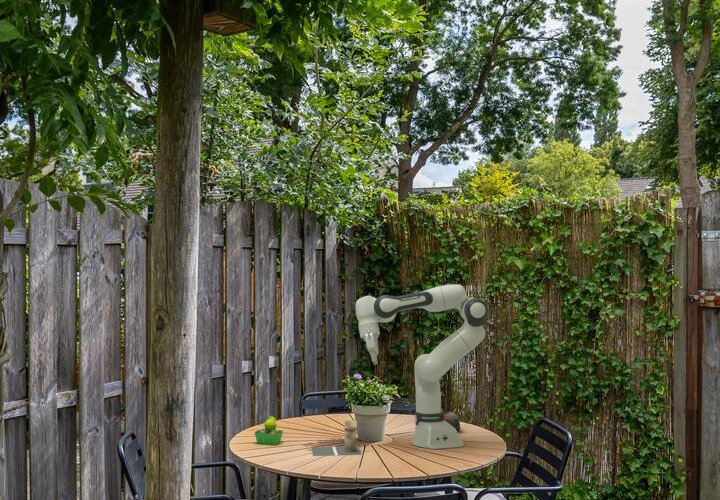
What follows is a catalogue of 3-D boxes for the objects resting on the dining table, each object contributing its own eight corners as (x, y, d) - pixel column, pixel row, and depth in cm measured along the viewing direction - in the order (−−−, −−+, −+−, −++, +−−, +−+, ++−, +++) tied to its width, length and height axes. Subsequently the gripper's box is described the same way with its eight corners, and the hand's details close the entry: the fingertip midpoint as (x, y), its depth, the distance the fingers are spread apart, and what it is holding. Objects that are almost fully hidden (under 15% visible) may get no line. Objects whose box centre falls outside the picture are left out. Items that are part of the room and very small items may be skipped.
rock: (430, 426, 324) (430, 410, 325) (451, 425, 326) (451, 409, 326) (439, 434, 306) (439, 417, 306) (462, 434, 307) (462, 417, 308)
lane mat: (358, 448, 277) (358, 446, 277) (362, 457, 263) (362, 454, 263) (311, 450, 274) (311, 447, 274) (312, 458, 260) (313, 455, 260)
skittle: (356, 449, 272) (356, 420, 273) (357, 452, 267) (357, 422, 268) (343, 449, 271) (343, 420, 272) (344, 452, 266) (345, 422, 267)
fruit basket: (253, 444, 284) (253, 418, 285) (261, 439, 292) (261, 414, 293) (277, 446, 281) (277, 419, 282) (284, 441, 290) (285, 415, 290)
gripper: (374, 326, 276) (380, 358, 272) (378, 334, 296) (383, 364, 292) (360, 329, 277) (366, 361, 273) (364, 337, 296) (369, 367, 292)
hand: (375, 363), depth 282 cm, fingers open, 8 cm apart
